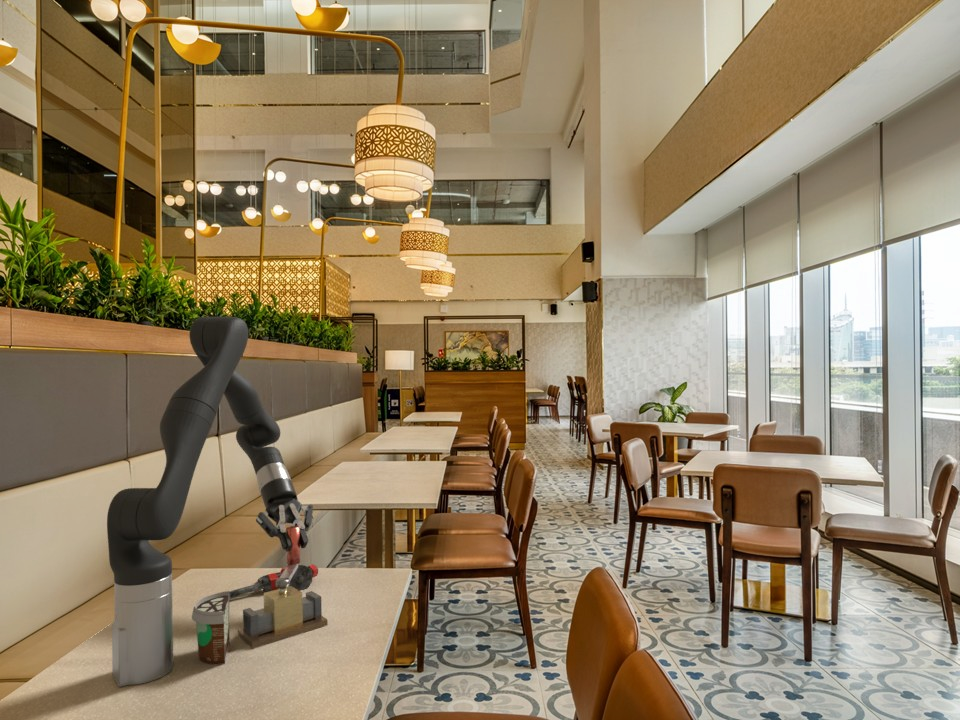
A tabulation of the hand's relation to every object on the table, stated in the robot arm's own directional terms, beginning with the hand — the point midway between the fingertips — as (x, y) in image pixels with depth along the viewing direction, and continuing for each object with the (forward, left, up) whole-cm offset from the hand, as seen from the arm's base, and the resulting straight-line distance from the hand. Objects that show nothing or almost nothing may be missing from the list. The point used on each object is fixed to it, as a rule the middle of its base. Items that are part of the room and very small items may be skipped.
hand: (296, 547), depth 138 cm
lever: (-3, -3, -5) cm, 7 cm away
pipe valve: (-7, -8, -14) cm, 18 cm away
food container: (-22, -9, -14) cm, 28 cm away
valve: (0, +20, -15) cm, 25 cm away
